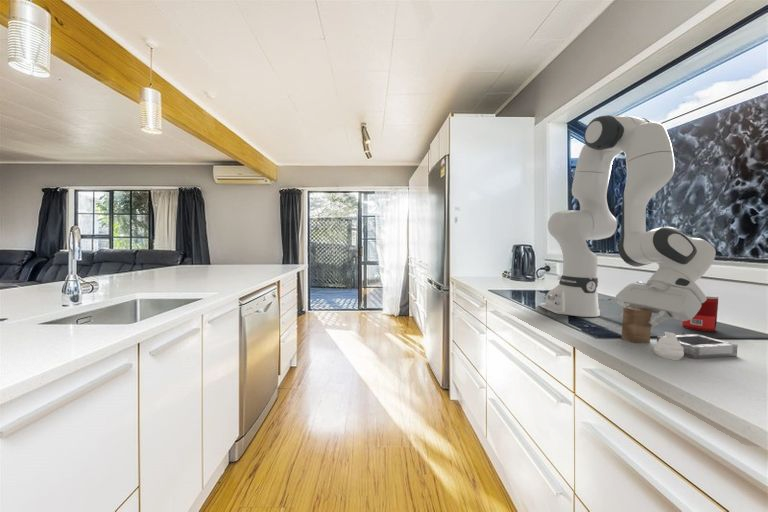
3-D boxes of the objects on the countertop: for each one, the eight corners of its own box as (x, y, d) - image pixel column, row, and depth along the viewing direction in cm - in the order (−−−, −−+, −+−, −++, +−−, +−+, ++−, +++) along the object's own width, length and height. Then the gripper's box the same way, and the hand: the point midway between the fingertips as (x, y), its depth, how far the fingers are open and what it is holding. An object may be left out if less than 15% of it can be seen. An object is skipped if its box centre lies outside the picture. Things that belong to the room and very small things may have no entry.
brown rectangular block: (621, 338, 94) (623, 307, 93) (636, 337, 95) (638, 306, 94) (634, 342, 90) (636, 310, 90) (649, 342, 91) (651, 310, 90)
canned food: (722, 332, 102) (725, 297, 101) (692, 330, 103) (695, 296, 103) (704, 326, 109) (706, 293, 109) (676, 324, 111) (678, 292, 110)
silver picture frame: (656, 346, 87) (657, 336, 87) (696, 344, 89) (696, 334, 89) (693, 358, 78) (694, 347, 78) (736, 356, 81) (737, 344, 80)
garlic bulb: (676, 330, 81) (690, 336, 76) (675, 354, 82) (689, 362, 76) (650, 328, 83) (662, 334, 78) (649, 351, 83) (661, 359, 78)
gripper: (628, 274, 103) (599, 305, 102) (701, 283, 83) (667, 322, 82) (639, 288, 104) (611, 319, 103) (714, 300, 84) (680, 339, 83)
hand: (636, 321), depth 92 cm, fingers open, 7 cm apart
